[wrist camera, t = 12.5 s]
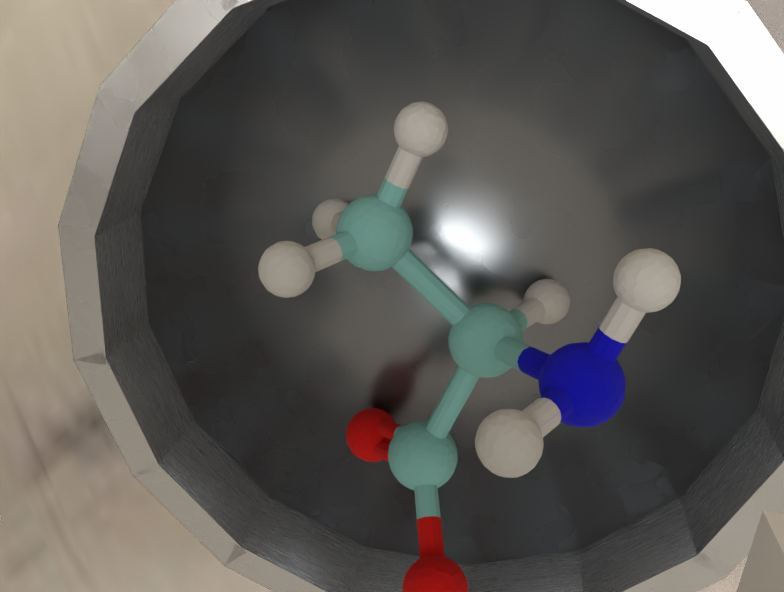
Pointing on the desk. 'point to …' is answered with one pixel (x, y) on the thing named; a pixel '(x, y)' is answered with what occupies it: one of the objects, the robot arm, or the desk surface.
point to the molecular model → (469, 344)
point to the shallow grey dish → (452, 265)
